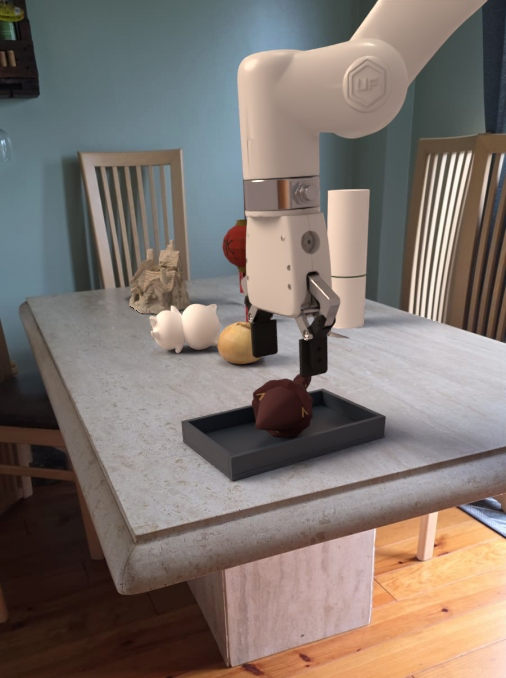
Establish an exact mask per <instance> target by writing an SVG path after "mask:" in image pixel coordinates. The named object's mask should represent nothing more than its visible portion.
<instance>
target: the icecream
mask: <svg viewBox="0 0 506 678" xmlns="http://www.w3.org/2000/svg"><path fill="white" fill-rule="evenodd" d="M312 377H313V376H311V377H307V378H304V377H301V376H300V373H298V374H297V375H295V377H294V378H293V380H292V379H289V378H287V377H286V378H280V379H269V380H268V381H266V382H265V383H264V384H262V385H261V386H260V387H258V388H256V389H255V390H254V391H253V392H252V398H253V399H252V400H251V405H252V406H253V409H254V413H255V419H256V429H259V430H266V431H267V432H269V433H270V434H271V435H272V436H273V437H285V438H294V437H296V436H298V435H299V434H300V433H301V432H302V431H303V430H304V429H306V428H307V427H309V425H310V420H311V418H312V403H313V401H314V400H313V399H312V397H311V396H310V394H309V393H308V392H309V391H308V388H309V387H310V385H311V382H312Z"/></svg>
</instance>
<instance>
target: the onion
mask: <svg viewBox="0 0 506 678" xmlns="http://www.w3.org/2000/svg"><path fill="white" fill-rule="evenodd" d="M250 324H251V323H249V322H246V321H243V320H241V321H236V322H234V323H231V324H229V325H228V326H226V327H225V328H224V329H222V331H221V333H219V339H218V346H217V350H218V354H219V356H220V357H221V358H223V360H225V361H227V362H228V363H230V364H234V365H246V364H251V363H255V362H256V361H258V360H261V359H262V357H260V358H255V357H253V355H252V342H251V325H250Z"/></svg>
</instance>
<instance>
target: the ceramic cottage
mask: <svg viewBox="0 0 506 678" xmlns="http://www.w3.org/2000/svg"><path fill="white" fill-rule="evenodd" d="M175 243H176V242H175V239H170V240H169V244H167V245H166V248H165V249H161V250H160V252H159V258H158V262H157V256H156V251H155V249H154V248H148V249H147V250H146V259H145V260H142V261H141V264H140V265H139V267H138V269H137V271H136V272H135V273H134V275H133V276H132V277H131V278H130V280H129V284H130V285H131V288H130V293H131V297H130V298H129V303H128V306H129V307H130V306H131V307H133V308H134V309H133V308H132V309H133V310H134V311H136V310H137V311H138V312H140V313H139V314H141V313H143V314H145V315H146V314H147V315H150V314H153V315H158V314H159V313H160V312H162V311H165V310H168V311H171V306H172V305H173V306H175V307H176V308H177V309H178V311H182V310H185V309H186V308H187V307H188V306H190V305H192V304H191V299H190V295H189V292H188V288H187V287H188V286H187V283H186V280H185V279H184V276H185V275H184V274H185V272H184V269H183V266H184V264H183V263H184V262H183V259H182V257H181V252H180V250H176V245H175ZM131 307H130V308H131ZM137 311H136V312H137ZM138 312H137V313H138Z"/></svg>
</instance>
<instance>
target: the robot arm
mask: <svg viewBox="0 0 506 678" xmlns="http://www.w3.org/2000/svg"><path fill="white" fill-rule="evenodd" d="M487 2H488V0H376V3H375V4H374V5H373V7H372V8H371V10H370V11H369V13H368V14H367V15H366V17H365V18H364V19H363V21H362V22H361V24H360V26H359V27H358V28H357V29H356V30H355V32H354V34H353V35H352V36H351V37H350V39H349V40H346V41H343V42H340V43H336V44H332V45H327V46H323V47H317V48H313V49H308V50H301V49H285V48H284V49H272V50H265V51H259V52H255V53H252V54H249V55H247V56H246V57H244V58H243V59H242V60H241V62H240V63H239V65H238V69H237V73H236V74H237V75H236V77H237V82H236V83H237V84H236V85H237V98H238V100H237V101H238V115H239V116H238V118H239V131H240V133H239V134H240V149H241V165H242V166H241V167H242V185H243V184H244V191H243V201H244V200H245V216H246V219H247V231H246V276H245V277H243V278H242V279H241V286H242V290H243V293H242V294H243V296H244V300H243V302H244V306H245V305H246V307H247V309H248V311H249V312H248V320H249V322H250V323H251V324H250V325H251V342H252V355H253V357H255V358H260V357H261V358H265V357H268V356H274V355H277V354H278V352H279V346H278V342H279V341H278V321H277V319H275V318H274V316H275V315H277V316H281V317H285V318H287V319H288V318H289V319H294V320H295V323H296V325H297V327H298V329H299V332H300V335H301V336H302V338H300V339H298V358H299V359H298V360H299V364H298V365H299V374H300V376H301V377H304V378H307V377H311V376H312V377H316V376H319V375H323V374H326V373H327V372H328V370H329V369H328V368H329V360H328V359H329V358H328V357H329V355H328V354H329V352H328V350H329V349H328V347H329V346H328V344H329V343H328V337H331V336H330V335H331V332H332V329H333V328H332V327H333V326H334V324H335V323H336V315H337V312H338V309H339V306H340V298H339V296H338V295H337V294H336V293H335V292H334V291H333V290H332V277H331V262H330V251H329V242H328V235H327V224H326V219H325V215H324V212H323V211H321V180H320V179H321V177H320V175H321V174H320V134H321V133H327V134H331V133H332V134H335V135H336V136H338V137H341V138H344V139H359V138H363V137H366V136H370V135H372V134H374V133H377V132H379V131H380V130H382V129H384V128H385V127H387V126H388V125H389V124H390V123H391V122H392V121H393V120H394V119H395V118H396V116H397V115H398V114H399V113H400V111H401V109H402V107H403V105H404V103H405V101H406V99H407V98H406V97H407V93H408V89H409V86H410V85H411V84H412V82H413V81H414V80H415V79H416V77H417V76H418V75H419V74H420V73H421V71H422V70H423V69H424V68H425V66H426V65H427V64H428V62H429V61H430V60H431V59H432V58H433V57H434V55H435V54H436V53H437V52H438V50H439V49H440V48H441V47H442V46H443V45H444V43H446V41H447V40H448V39H449V38H450V37H451V36H452V35H453V34H454V33H455V32H456V30H458V28H459V27H460V26H462V25H463V24H464V23H465V22H466V21H467V20H468V19H469V18H470V17H471V16H473V14H475V13H476V12H477V11H478V10H480V9H481V7H482V6H484V5H485V3H487ZM243 180H244V181H243ZM310 318H313V321H312V322H311V324H310V322H309V320H308V319H310ZM261 358H260V359H261Z"/></svg>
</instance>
